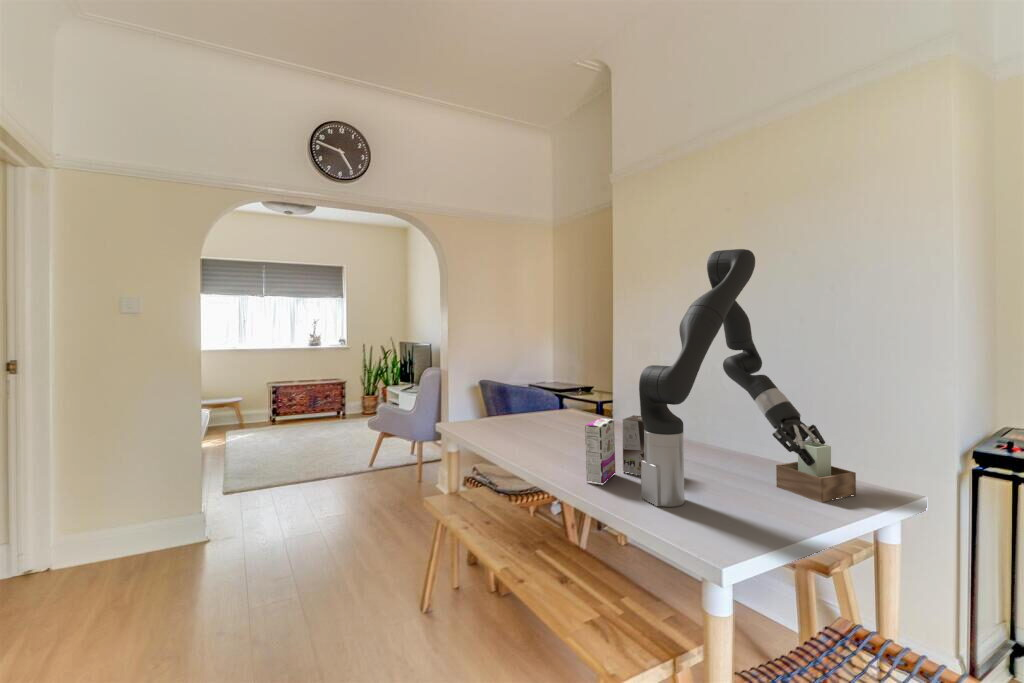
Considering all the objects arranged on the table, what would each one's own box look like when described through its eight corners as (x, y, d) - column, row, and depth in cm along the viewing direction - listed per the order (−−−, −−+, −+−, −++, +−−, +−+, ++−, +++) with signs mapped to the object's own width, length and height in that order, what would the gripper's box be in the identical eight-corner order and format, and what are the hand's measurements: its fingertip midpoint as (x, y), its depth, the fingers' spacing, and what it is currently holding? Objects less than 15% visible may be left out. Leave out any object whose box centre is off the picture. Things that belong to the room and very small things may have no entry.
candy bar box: (599, 472, 131) (598, 417, 131) (616, 474, 129) (615, 419, 128) (585, 483, 122) (584, 424, 122) (602, 486, 119) (601, 426, 119)
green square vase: (817, 487, 110) (816, 447, 109) (798, 481, 114) (797, 443, 114) (831, 485, 111) (830, 446, 111) (812, 479, 116) (811, 441, 116)
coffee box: (643, 477, 126) (642, 421, 126) (622, 473, 130) (621, 419, 130) (654, 469, 133) (653, 416, 133) (634, 465, 137) (633, 414, 137)
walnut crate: (821, 502, 105) (821, 478, 105) (776, 486, 116) (776, 464, 116) (855, 495, 109) (855, 472, 109) (809, 481, 120) (808, 459, 120)
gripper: (765, 402, 118) (809, 458, 106) (804, 398, 122) (850, 452, 111) (749, 418, 123) (789, 473, 111) (787, 414, 127) (829, 467, 116)
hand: (819, 462), depth 111 cm, fingers closed on green square vase, 5 cm apart
